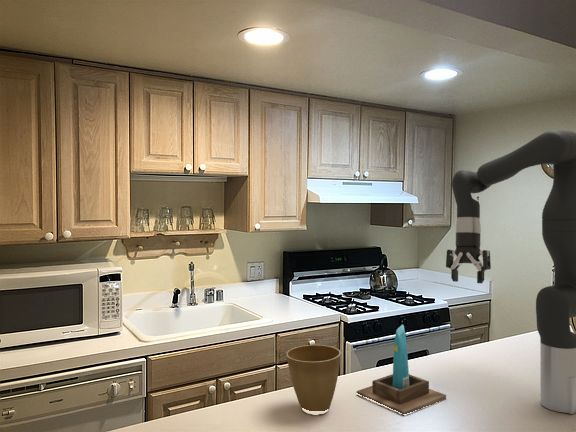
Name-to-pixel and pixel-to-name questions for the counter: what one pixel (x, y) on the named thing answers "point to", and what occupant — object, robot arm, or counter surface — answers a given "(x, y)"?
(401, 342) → the tube
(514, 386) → the counter surface
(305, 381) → the plant pot
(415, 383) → the socket board
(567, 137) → the robot arm
